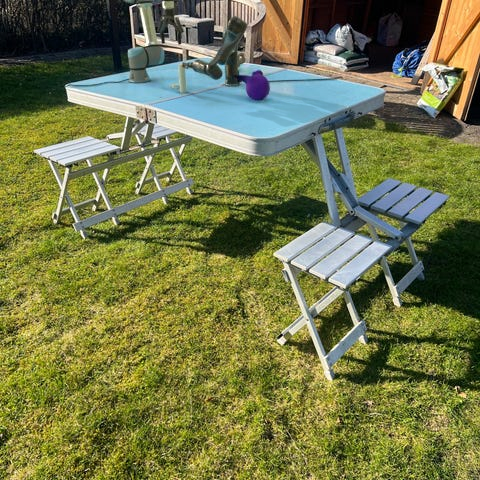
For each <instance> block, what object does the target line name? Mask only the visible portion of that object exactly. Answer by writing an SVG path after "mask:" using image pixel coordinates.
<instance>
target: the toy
mask: <svg viewBox="0 0 480 480" xmlns="http://www.w3.org/2000/svg"><path fill="white" fill-rule="evenodd" d="M233 76H234V77H235V78H237V79H239V80H241V81H242V83H244V84H245V93H246V95H247V97H248V98H250V100H252V101H257V102H260V101H263V100H265V99H266V98H267V97H268V95H269V94H270V92H271V85H270V82H269V81H270V80H268V78H267V77H266V76H264V73H263V71H262V70H261V69H258V70H257V69H256V70H255V71H252V73H251V75H247V74H239V75H233Z"/></svg>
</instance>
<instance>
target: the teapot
mask: <svg viewBox="0 0 480 480" xmlns="http://www.w3.org/2000/svg"><path fill="white" fill-rule="evenodd" d="M240 58H241V59H240ZM245 62H246V56H245V54H244V52H242V51H241V52H238V69H239V68H240V67H241V65H243V64H244V63H245ZM223 66H225V64H224V65H223Z"/></svg>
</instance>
